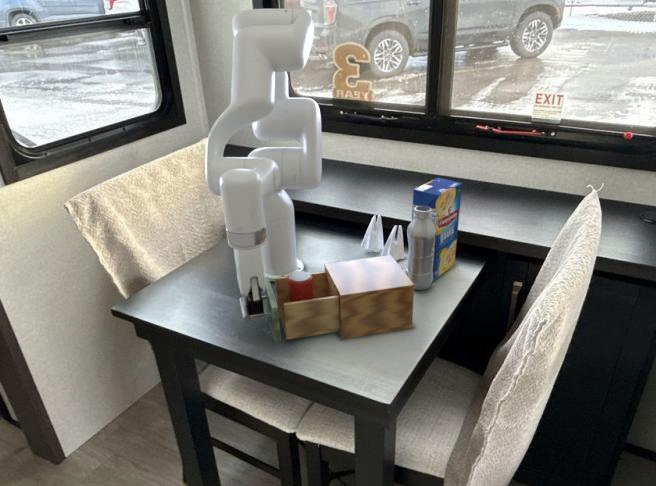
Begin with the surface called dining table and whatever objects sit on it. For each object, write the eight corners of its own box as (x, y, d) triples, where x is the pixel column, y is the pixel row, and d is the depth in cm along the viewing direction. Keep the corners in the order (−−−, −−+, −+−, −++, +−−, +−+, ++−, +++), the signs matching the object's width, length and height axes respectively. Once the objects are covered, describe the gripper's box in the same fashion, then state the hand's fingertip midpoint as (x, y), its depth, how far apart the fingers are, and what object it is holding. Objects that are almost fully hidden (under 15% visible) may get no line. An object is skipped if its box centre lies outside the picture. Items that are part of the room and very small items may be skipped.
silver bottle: (431, 294, 130) (437, 214, 120) (403, 291, 131) (406, 213, 121) (433, 281, 135) (439, 204, 125) (405, 279, 137) (409, 202, 126)
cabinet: (341, 339, 115) (340, 295, 109) (325, 304, 127) (324, 263, 121) (412, 327, 118) (414, 284, 112) (389, 295, 130) (391, 254, 125)
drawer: (247, 349, 111) (242, 312, 106) (240, 315, 122) (236, 280, 118) (344, 333, 115) (343, 297, 110) (329, 302, 126) (327, 268, 122)
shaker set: (359, 252, 151) (359, 214, 145) (368, 246, 153) (369, 209, 148) (396, 263, 144) (398, 224, 138) (405, 258, 147) (407, 219, 141)
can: (292, 326, 116) (289, 283, 110) (288, 313, 120) (285, 272, 115) (316, 322, 117) (314, 280, 111) (311, 310, 121) (309, 268, 116)
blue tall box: (408, 273, 139) (413, 189, 128) (431, 257, 147) (437, 177, 135) (432, 280, 136) (438, 195, 124) (454, 264, 143) (462, 182, 132)
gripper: (223, 221, 111) (234, 298, 121) (231, 254, 99) (242, 336, 109) (260, 217, 113) (268, 293, 123) (272, 248, 101) (280, 330, 110)
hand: (256, 313), depth 116 cm, fingers closed
